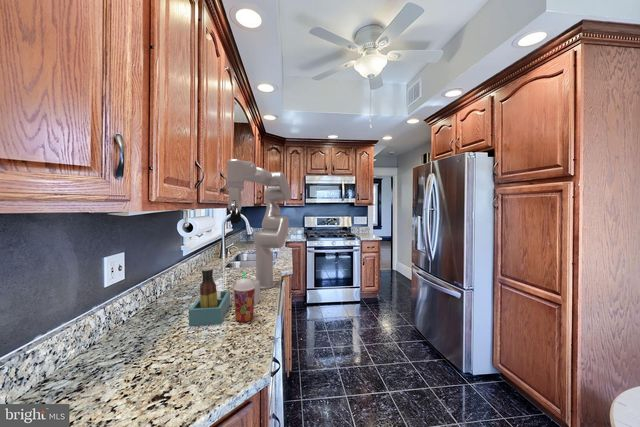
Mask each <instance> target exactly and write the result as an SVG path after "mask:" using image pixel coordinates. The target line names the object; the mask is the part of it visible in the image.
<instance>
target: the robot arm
mask: <svg viewBox="0 0 640 427" xmlns="http://www.w3.org/2000/svg"><path fill="white" fill-rule="evenodd" d="M244 182H249V183H256V184H259V185H262V186H264V187H266V188H265V190H264V192H263V197H264V198H263V199H264V201H265V205H266V209H265V213H264V217H263V219H262V222H261V228H262V230H259V231H257V232H256V233H254V236H253V242H254V247H255V248H254V249H255V280H258V281H260V290H266V289H268V290H269V289H272V288H274V287H276V285H277V284H276V282H275V281H274V254H273V251H272V250H271V249H281V248H283V246H284V245H285V242H286V239H287V235H288V231H289V227H290V221H289V218H288V216H286V215H281V209H280V206H279V205H278V204H277V202H288V201H290V200H291V198H292V191H291V187H290V185H289V182H288V179H287V177H286V175H285V174H284V172H283V171H269V170H267V169H265V168H263V167H258V166H256V164H255V163H254V162H253V161H249V160H248V161H246V160H242V159H238V158H237V159H236V158H230V159H227V161H226V189H227V190H228V197H227V198H228V200H227V201H228V202H227V203H228V204H227V208H228V211H230V224H239V223H241V222H242V216H241V215H242V214H241V210H242V197H243V196H242V190H244V189H245V183H244ZM267 187H268V188H267Z"/></svg>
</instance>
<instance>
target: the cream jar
mask: <svg viewBox="0 0 640 427" xmlns="http://www.w3.org/2000/svg"><path fill="white" fill-rule="evenodd" d="M219 291H220V290H217V299H221V292H219Z"/></svg>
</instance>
